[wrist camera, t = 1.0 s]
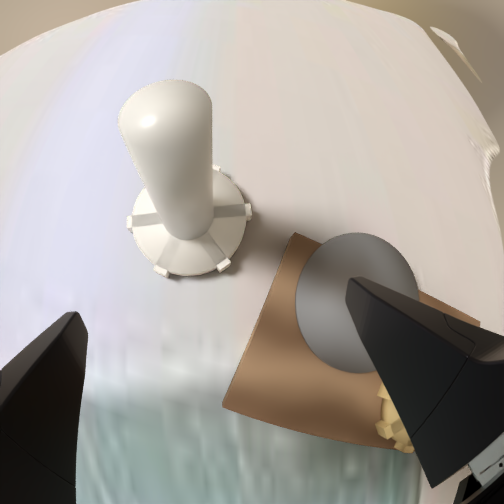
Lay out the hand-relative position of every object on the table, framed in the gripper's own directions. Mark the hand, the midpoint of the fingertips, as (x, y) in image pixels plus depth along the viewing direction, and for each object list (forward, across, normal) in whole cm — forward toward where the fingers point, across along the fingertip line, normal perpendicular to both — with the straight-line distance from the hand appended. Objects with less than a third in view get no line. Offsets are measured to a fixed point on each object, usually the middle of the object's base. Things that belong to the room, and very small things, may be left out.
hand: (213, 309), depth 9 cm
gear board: (+6, -13, +12) cm, 19 cm away
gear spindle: (+15, +1, +3) cm, 15 cm away
